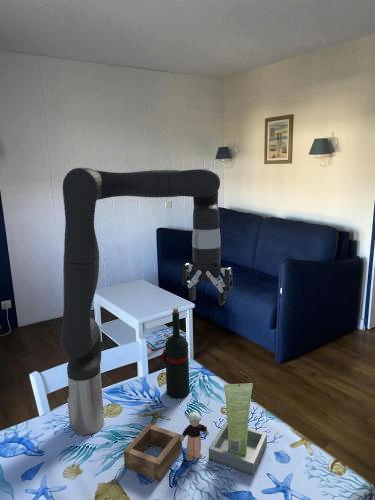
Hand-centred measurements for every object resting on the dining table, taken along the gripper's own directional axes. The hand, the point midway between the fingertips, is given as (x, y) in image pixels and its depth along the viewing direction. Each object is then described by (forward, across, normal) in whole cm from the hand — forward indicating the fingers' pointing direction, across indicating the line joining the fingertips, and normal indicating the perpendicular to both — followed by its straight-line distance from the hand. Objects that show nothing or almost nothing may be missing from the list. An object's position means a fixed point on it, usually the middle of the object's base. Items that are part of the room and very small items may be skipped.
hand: (207, 302), depth 104 cm
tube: (+38, -12, +7) cm, 40 cm away
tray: (+38, -12, +7) cm, 41 cm away
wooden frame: (+38, +7, +19) cm, 43 cm away
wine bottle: (+38, +17, -10) cm, 43 cm away
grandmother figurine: (+38, -2, +13) cm, 41 cm away
